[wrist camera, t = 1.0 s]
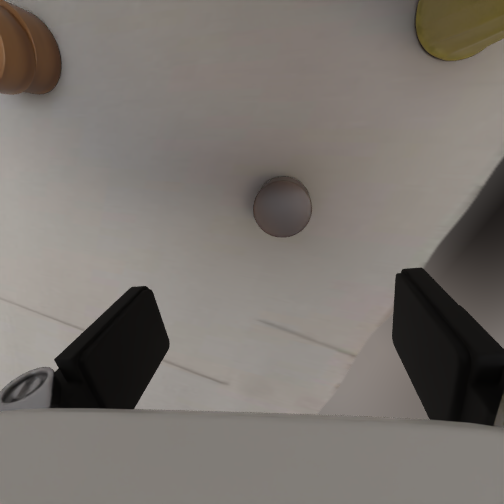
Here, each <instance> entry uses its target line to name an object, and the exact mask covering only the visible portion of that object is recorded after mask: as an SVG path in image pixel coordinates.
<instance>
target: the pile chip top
mask: <svg viewBox="0 0 504 504" xmlns="http://www.w3.org/2000/svg"><path fill="white" fill-rule="evenodd" d="M34 74H35V55H34V50H33V47H32V44H31V41H30V39H29V36H28V34H27V32H26V31H25V29H24V27H23V26H22V24H21V23H20V22H19V20H18V19H17V18H16V17H15V16H14V15H13V14H12V13H11V12H10V11H9V10H7V9H6V8H5V7H3V6H1V5H0V93H2V94H10V95H14V94H19V93H22V92H23V91H25V90H26V89H27V88H28V87H29V86H30V84H31V83H32V81H33V78H34Z"/></svg>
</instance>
